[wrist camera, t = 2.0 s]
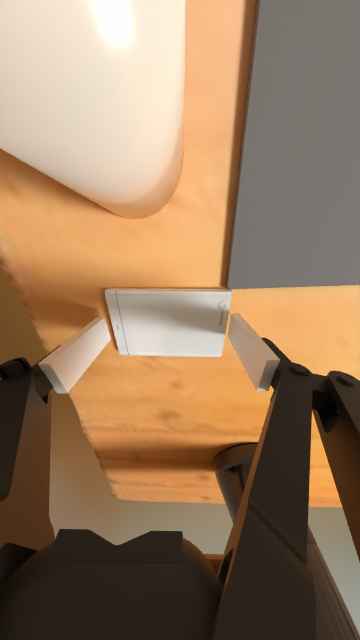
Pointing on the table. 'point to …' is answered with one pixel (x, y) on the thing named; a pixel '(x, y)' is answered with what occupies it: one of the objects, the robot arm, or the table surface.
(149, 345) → the hard drive
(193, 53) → the table surface
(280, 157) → the mat
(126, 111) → the cream rounded cylinder
